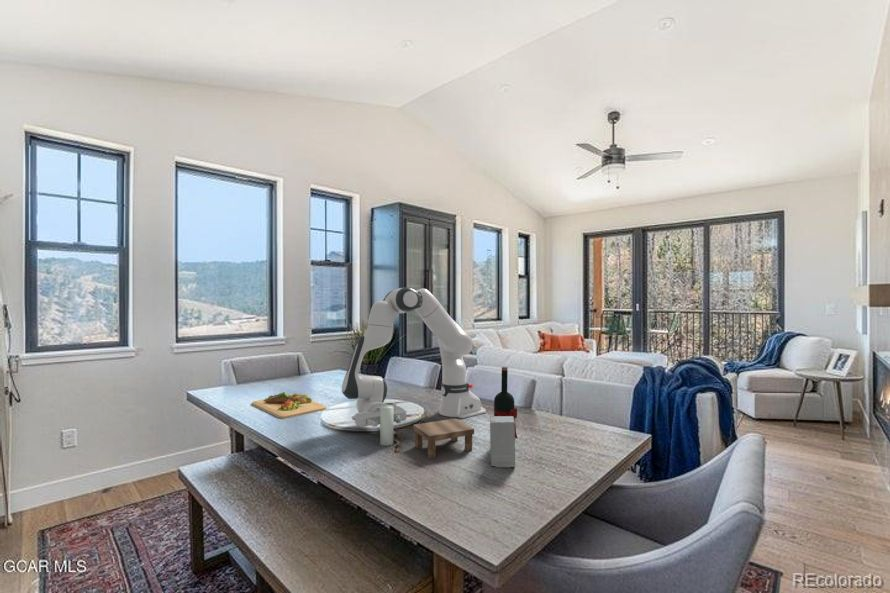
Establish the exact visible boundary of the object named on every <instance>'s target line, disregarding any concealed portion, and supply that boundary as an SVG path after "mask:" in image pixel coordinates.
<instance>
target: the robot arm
mask: <svg viewBox="0 0 890 593" xmlns="http://www.w3.org/2000/svg"><path fill="white" fill-rule="evenodd" d="M412 311H415V312H416V313H417V315H418V316H419V317H420V318H421V320H422V321H423V322H424V324H425V325H426V326H427V328H428V329H429V331H430V332H432V333H433V334H434V335H435V336H436V337H437V339H436V340H437V345H438V348H439V353H440V359H441V360H440V361H441V366H442V367H441V368H442V373H441V374H442V375H441V376H442V378H441V379H442V382H441V388H440V389H441V390H440V391H441V392H440V393H441V400H440V406H439V410H438V414H439V415H441V416H445V417H448V418H449V417H450V418H460V419H465V418H470V417H473V416H479V415H481V414H486V412H487V411H486V408H484V407H483V406H482V403H481V399H480V398H479V397H478V396H477V395H475V394H474V393H473V391H471V390H470V389H473V388H474V385H473V384H472V383H467V381H466V380H467V366H466V363H465V361H464V357H463V356H466V355H469V354H470V353H471V352H472V350H473V347H474V342H473V339H472V337H471V336H470V335H469V334H468V333H467V332H466V331H464V329H463V328H462V327H461V326H460V324H458V323H457V322H456V321H455V320H454V319H453V318H452V316H450V315H449V313H448V312H447V310H446V309H445V308H444V306H443V305H442V304H441V302H440V301H439V300H438V299H437V298H436V296H435V295H433V294H432V293H431V292H430V290H428V289H427V288H423V287H422V288H419V289H414V288H412V287H408V286H407V287H400V288H395V289H394V290H390V291H389V292H388V293H387V294H386V295H385V296H384V298H383V300H378V301H375V302H373V304H372V307H371V309H370V311H369V317H368V320H367V328H366V329H365V332H364V333H363V335H361V336H359V337H358V339H357V341H356V342H355V346H354V349H353V351H352V355H351V358H350V361H349V364H348V368H347V370H346V373H345V375H344V379H343V381H342V384H341V393H342V395H344V397H346V399H348V400H356V404H355V405H356V409H357V412H356V413H355V414H354V415H352V416H351V419H352V420H353V421H354V423H355V425H356V427H367V426H371V427H378V425H379V426H380V406H383V405H392V406H394V423H396V424H401V422H402V421H403V422H404V421H406V420H407V411H406V410H405V408H403V407H401V406H398V405H397V403H396V402H395V403H394V402H385V400H386V398H387V394H388V385H387V383H386V380H385V379H384V378H383V377H382V376H379V375H363V374H362V375H361V374H360V373H359V372H360V369H361V366H362V362H363V359H364V356H365V355H366V353H368V352H370V351H371V350H375V349H379V348H381V347H384V346H385V345H387V344H389V342H391V340H392V338H393V334H394V333H393V332H394V323H395V319H396V316H397V315H398V314H405V313H409V312H412Z"/></svg>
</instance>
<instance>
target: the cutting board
mask: <svg viewBox="0 0 890 593" xmlns="http://www.w3.org/2000/svg"><path fill="white" fill-rule="evenodd" d="M251 406H253V407H256V408H258V409H259V410H262V411H264V412H266V413H268V414H270V415H272V416H275V417H277V418H278V419H283V420H284V419H290V418H294V417H299V416H304V415H308V414H313V413H318V412H322V411H326V410H327V405H324V404H322V403H319V402H317V401H314V400H312V398H311V397H309V396H308V394H307V393H306V394H305V393H304V394H300V393H297V392H296V393H295V392H294V393H293V394H286V391H281V392H279V393H278V394H274V395H271V394H270V395H269V396H268V397H265V398H264V399H260V400H253V401H252V402H251Z"/></svg>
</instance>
